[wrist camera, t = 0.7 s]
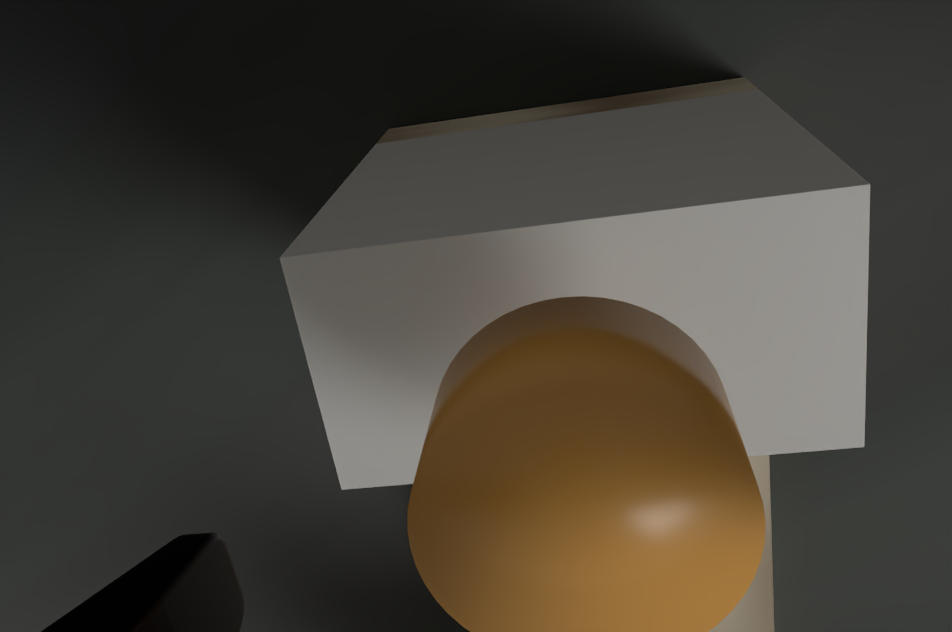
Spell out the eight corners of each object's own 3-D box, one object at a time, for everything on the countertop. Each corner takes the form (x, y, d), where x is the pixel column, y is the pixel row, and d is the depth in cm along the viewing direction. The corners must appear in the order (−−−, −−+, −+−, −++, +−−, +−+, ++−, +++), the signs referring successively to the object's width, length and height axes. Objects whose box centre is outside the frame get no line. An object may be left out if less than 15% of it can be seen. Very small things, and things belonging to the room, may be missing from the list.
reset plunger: (723, 279, 10) (760, 362, 8) (735, 539, 11) (770, 660, 9) (408, 314, 10) (374, 400, 8) (459, 558, 12) (440, 675, 10)
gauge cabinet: (758, 89, 17) (870, 183, 11) (764, 297, 19) (863, 480, 13) (376, 144, 19) (279, 257, 12) (416, 334, 20) (349, 520, 14)
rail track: (744, 77, 19) (774, 102, 16) (767, 732, 27) (790, 824, 24) (388, 129, 20) (361, 161, 17) (511, 741, 28) (506, 829, 25)
